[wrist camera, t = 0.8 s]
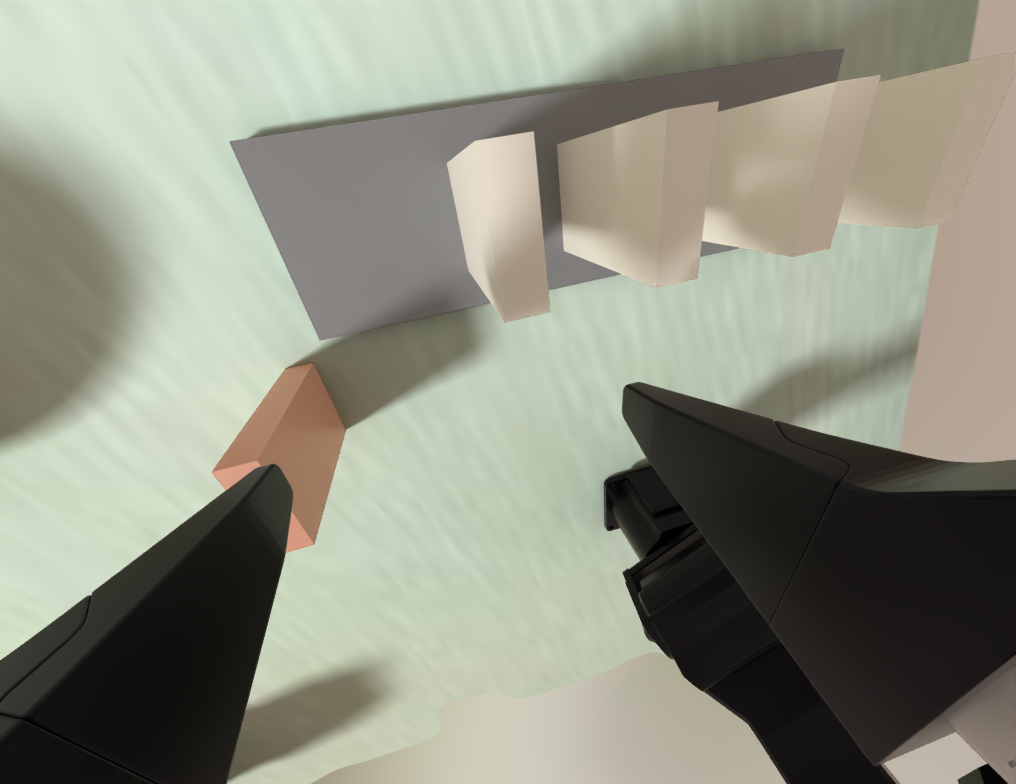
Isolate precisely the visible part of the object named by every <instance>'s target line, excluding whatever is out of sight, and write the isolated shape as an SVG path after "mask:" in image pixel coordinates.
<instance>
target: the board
mask: <svg viewBox="0 0 1016 784" xmlns="http://www.w3.org/2000/svg"><path fill="white" fill-rule="evenodd" d="M843 51H844V49H838V50H831V51H825V52H818V53H812V54H805V55H798V56H792V57H785V58H778V59H772V60H765V61H759V62H752V63H745V64H739V65H732V66H725V67H719V68H712V69H706V70H699V71H692V72H686V73H679V74H672V75H666V76H659V77H653V78H646V79H639V80H633V81H626V82H619V83H613V84H606V85H600V86H593V87H586V88H580V89H573V90H566V91H560V92H553V93H547V94H540V95H533V96H527V97H520V98H513V99H507V100H500V101H494V102H487V103H480V104H474V105H467V106H460V107H454V108H447V109H441V110H434V111H427V112H421V113H414V114H407V115H401V116H394V117H387V118H381V119H374V120H368V121H361V122H354V123H348V124H341V125H334V126H328V127H321V128H315V129H308V130H301V131H295V132H288V133H281V134H275V135H268V136H262V137H255V138H248V139H242V140H235V141H229V142H230V144H231V147H232V149H233V151H234V153H235V155H236V157H237V160H238V162H239V164H240V166H241V168H242V171H243V173H244V175H245V177H246V179H247V182H248V184H249V186H250V188H251V190H252V193H253V195H254V197H255V199H256V201H257V204H258V206H259V208H260V210H261V212H262V215H263V217H264V219H265V221H266V223H267V225H268V228H269V230H270V232H271V234H272V236H273V239H274V241H275V243H276V245H277V247H278V250H279V252H280V254H281V256H282V258H283V261H284V263H285V265H286V267H287V269H288V272H289V274H290V276H291V278H292V280H293V283H294V285H295V287H296V289H297V291H298V293H299V296H300V298H301V300H302V302H303V304H304V307H305V309H306V311H307V313H308V315H309V318H310V320H311V322H312V324H313V326H314V329H315V331H316V333H317V335H318V337H319V340H325V339H329V338H334V337H338V336H343V335H347V334H352V333H357V332H361V331H366V330H370V329H375V328H379V327H384V326H388V325H393V324H397V323H402V322H407V321H411V320H416V319H420V318H425V317H429V316H434V315H438V314H443V313H447V312H452V311H456V310H461V309H466V308H470V307H475V306H479V305H484V304H488V303H491V302H490V301H489V299H488V298H487V297H486V295H485V294H484V292H483V291H482V289H481V288H480V287H479V285H478V284H477V282H476V281H475V279H474V278H473V276H472V275H471V274H470V272H469V271H468V266H467V261H466V256H465V251H464V246H463V241H462V236H461V231H460V226H459V221H458V216H457V211H456V206H455V201H454V196H453V192H452V187H451V182H450V177H449V172H448V167H447V162H449V161H450V160H451V159H452V158H454V157H455V156H456V155H458V154H459V153H460V152H461V151H463V150H464V149H465V148H466V147H468V146H469V145H470V144H472V143H473V142H474V141H477V140H483V139H489V138H495V137H501V136H508V135H514V134H520V133H526V132H532V131H534V140H535V151H536V162H537V173H538V183H539V194H540V205H541V216H542V227H543V238H544V249H545V259H546V270H547V281H548V290H552V289H556V288H561V287H565V286H570V285H575V284H579V283H584V282H588V281H593V280H597V279H602V278H606V277H611V276H615V275H620V273H618V272H615V271H613V270H610V269H608V268H605V267H603V266H600V265H598V264H595V263H593V262H590V261H588V260H585V259H583V258H580V257H578V256H575V255H573V254H570V253H568V252H565V251H564V245H563V230H562V215H561V199H560V184H559V169H558V154H557V144H560V143H563V142H566V141H569V140H572V139H575V138H579V137H582V136H585V135H588V134H591V133H594V132H597V131H601V130H604V129H607V128H610V127H613V126H616V125H620V124H623V123H626V122H629V121H632V120H635V119H639V118H642V117H645V116H648V115H651V114H654V113H658V112H661V111H664V110H667V109H673V108H679V107H685V106H691V105H697V104H703V103H710V102H716V101H719V103H718V112H720V111H724V110H728V109H732V108H736V107H739V106H743V105H747V104H751V103H755V102H759V101H763V100H767V99H771V98H775V97H779V96H783V95H786V94H790V93H794V92H798V91H802V90H806V89H810V88H814V87H818V86H822V85H826V84H829V83H833V82H836V79H837V75H838V71H839V67H840V63H841V59H842V55H843ZM738 248H739V247H734V246H728V245H722V244H717V243H711V242H705V241H702V243H701V252H700V257H702V256H706V255H711V254H715V253H720V252H724V251H729V250H733V249H738Z"/></svg>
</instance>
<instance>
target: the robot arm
mask: <svg viewBox="0 0 1016 784" xmlns="http://www.w3.org/2000/svg"><path fill="white" fill-rule="evenodd" d="M622 414H623V417H624V419H625V421H626V423H627V425H628V426H629V428H630V430H631V432H632V433H633V435H634V437H635V439H636V440H637V442H638V444H639V446H640V447H641V449H642V451H643V452H644V454H645V456H646V457H647V459H648V461H649V462H650V464H651V465H652V467H649V468H645V469H642V470H638V471H635V472H632V473H628V474H625V475H621V476H618V477H614V478H611V479H608V480H606V481H605V483H604V525H605V528H606V529H607V531H612V530H615V529H618V528H621V530H622V532H623V533H624V535H625V537H626V538H627V540H628V541H629V543H630V545H631V546H632V548H633V550H634V551H635V553H636V554H637V556H638V558H639V559H640V562H638V563H637V564H636V565H634V566H633V567H631V568H630V569H626V570H625V571H624V572H623V575H624V578H625V580H626V582H625V583H626V586H627V588H628V590H629V593H630V595H631V598H632V600H633V603H634V605H635V608H636V610H637V612H638V615H639V617H640V620H641V622H642V626H643V630H644V633H645V635H646V637H647V638H648V640H649V641H652V642H655V643H656V644H657V645H658V646H659V647H660V648H661V650H662V651H663V652H664V653H665V654H666V655H667V656H668V657H669V658H671V659H674V660H675V661H676V663H677V665H678V667H679V669H680V671H681V673H682V675H683V676H684V677H685V678H686V679H687V680H688V681H689V682H691V683H692V684H693V685H694V686H695V687H697V688H698V689H700V690H701V691H704V692H705V693H707V694H708V695H710V696H711V697H712V698H713V699H715V700H716V701H718V702H719V703H720V704H722V705H723V706H725V707H726V708H727V709H728V710H730V711H731V712H733V713H734V714H735V715H737V716H738V717H739V718H741V719H742V720H743V721H745V722H746V723H747V724H748V725H749V726H750V728H751V729H752V731H753V732H754V733H755V735H756V737H757V738H758V740H759V741H760V743H761V744H762V746H763V747H764V749H765V751H766V752H767V754H768V755H769V757H770V758H771V760H772V761H773V763H774V764H775V766H776V768H777V769H778V771H779V772H780V774H781V776H782V777H783V779H784V780H785V782H786V783H787V784H900V783H899V781H898V780H897V779H896V778H895V777H894V775H893V774H892V773H891V772H890V771H889V769H888V768H887V767H886V766H885V765H884V762H887V761H889V760H891V759H894V758H896V757H898V756H901V755H903V754H905V753H908V752H910V751H912V750H915V749H917V748H919V747H922V746H924V745H926V744H929V743H931V742H933V741H936V740H938V739H940V738H943V737H945V736H947V735H950V734H952V733H954V732H957V733H958V734H959V735H960V736H961V737H962V738H963V739H964V740H965V741H966V742H967V743H968V744H969V745H970V746H971V747H972V748H973V749H974V750H975V751H976V752H977V753H978V754H979V755H980V756H981V757H982V758H983V759H984V760H985V761H986V762H987V763H988V764H986V765H983V766H981V767H979V768H977V769H975V770H974V771H972V772H971V773H969V774H967V775H965V776H963V777H962V778H960V779H958V782H959V784H1016V460H1007V461H997V462H983V463H965V462H950V461H943V460H937V459H931V458H926V457H922V456H917V455H913V454H909V453H905V452H900V451H896V450H892V449H888V448H883V447H879V446H875V445H870V444H866V443H862V442H857V441H853V440H849V439H845V438H841V437H837V436H833V435H828V434H824V433H820V432H816V431H813V430H809V429H805V428H802V427H798V426H794V425H790V424H787V423H783V422H780V421H773V420H772V419H769V418H765V417H762V416H758V415H755V414H751V413H748V412H744V411H741V410H737V409H733V408H730V407H726V406H723V405H719V404H716V403H712V402H709V401H705V400H702V399H698V398H694V397H691V396H687V395H684V394H680V393H677V392H673V391H670V390H666V389H663V388H659V387H655V386H652V385H648V384H645V383H641V382H636V383H632V384H628V385H626V386H625V387H624V389H623V402H622ZM292 504H293V490H292V487H291V485H290V484H289V482H288V480H287V478H286V477H285V475H284V473H283V472H282V470H281V468H280V467H279V466H278V465H277V464H269V465H265V466H260V467H257V468H255V469H254V470H252V471H251V472H250V473H248V474H247V475H246V476H244V477H243V478H242V479H241V480H239V481H238V482H237V483H235V484H234V485H233V486H231V487H230V488H229V489H227V490H226V491H225V492H223V493H222V494H221V495H219V496H218V497H217V498H216V499H214V500H213V501H212V502H210V503H209V504H208V505H206V506H205V507H204V508H202V509H201V510H200V511H198V512H197V513H196V514H194V515H193V516H192V517H191V518H189V519H188V520H187V521H185V522H184V523H183V524H181V525H180V526H179V527H177V528H176V529H175V530H173V531H172V532H171V533H170V534H168V535H167V536H166V537H164V538H163V539H162V540H160V541H159V542H158V543H156V544H155V545H154V546H152V547H151V548H150V549H148V550H147V551H146V552H145V553H143V554H142V555H141V556H139V557H138V558H137V559H135V560H134V561H133V562H131V563H130V564H129V565H127V566H126V567H125V568H123V569H122V570H121V571H120V572H118V573H117V574H116V575H114V576H113V577H112V578H110V579H109V580H108V581H106V582H105V583H104V584H102V585H101V586H100V587H98V588H97V589H96V590H95V591H93V593H92V596H91V595H89V596H87V597H85V598H84V599H83V600H81V601H80V602H79V603H77V604H76V605H75V606H73V607H72V608H71V609H69V610H68V611H67V612H65V613H64V614H63V615H61V616H60V617H59V618H57V619H56V620H55V621H53V622H52V623H51V624H49V625H48V626H47V627H45V628H44V629H43V630H41V631H40V632H39V633H37V634H36V635H35V636H33V637H32V638H31V639H29V640H28V641H27V642H25V643H24V644H22V645H21V646H20V647H18V648H17V649H16V650H14V651H13V652H11V653H10V654H9V655H7V656H6V657H4V658H3V659H2V660H0V784H227V780H228V776H229V772H230V768H231V764H232V761H233V757H234V753H235V749H236V745H237V741H238V737H239V733H240V730H241V726H242V722H243V718H244V714H245V710H246V706H247V702H248V699H249V695H250V691H251V687H252V683H253V679H254V675H255V671H256V668H257V664H258V660H259V656H260V652H261V648H262V644H263V640H264V637H265V633H266V629H267V625H268V621H269V617H270V613H271V610H272V606H273V602H274V598H275V594H276V590H277V586H278V582H279V579H280V575H281V571H282V567H283V563H284V558H285V554H286V548H287V541H288V534H289V526H290V519H291V512H292Z"/></svg>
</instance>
